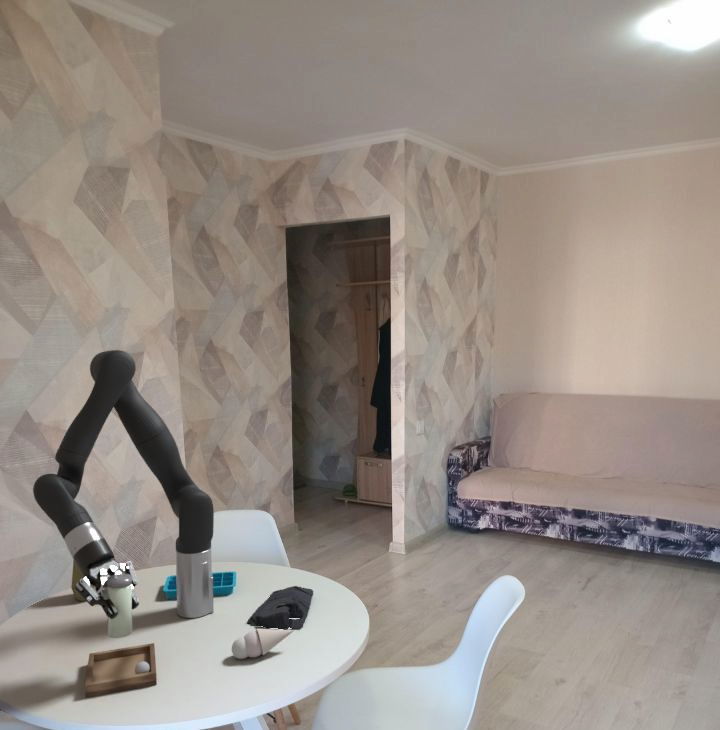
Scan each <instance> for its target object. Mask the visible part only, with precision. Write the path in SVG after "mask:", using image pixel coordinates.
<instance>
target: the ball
mask: <svg viewBox="0 0 720 730" xmlns="http://www.w3.org/2000/svg"><path fill="white" fill-rule="evenodd" d="M149 669H150V667H149V664H148V663H147V662H144V661H143V662H140V663H138V664H137V665H136V667H135V673H136V674H141V673H147V672H149Z"/></svg>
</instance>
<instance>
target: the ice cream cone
mask: <svg viewBox="0 0 720 730" xmlns="http://www.w3.org/2000/svg"><path fill="white" fill-rule="evenodd" d="M293 632H295V629H288V630H287V629H285V630H276V629H266V628H256V630H254V631H253V630H252V631H249V632H247V633H246V634H245V635H244V636H243V637H238V638H236V639H235V640H234V641H233V643H232V645H231V654H232V655H233V657H235V658H236V659H238V660H244V659H247V658H251V659H252V658H257V657H259V656H260V655H263V656H265V655H266V654H267V653H268V652H270V651H271V650H272V649H273V648H275V647H276V646H277V645H278V644H279V643H281V642H282V641H283V640H285V639H286V638H288V637H289V636H290V635H291V634H292V633H293Z"/></svg>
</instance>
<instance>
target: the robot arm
mask: <svg viewBox="0 0 720 730" xmlns="http://www.w3.org/2000/svg"><path fill="white" fill-rule="evenodd" d="M136 369H137V368H136V361H135V359H134V358H133V357H132V356H131V355H130V354H129V353H128V352H126V351H124V350H121V349H120V350H118V349H115V350H114V349H113V350H105V351H101V352H99V353H97V354H95V356H93V357H92V359H91V361H90V364H89V372H90V376H91V378H92V379H93V381H94V384H93V387H92V389H91V391H90V394H89V396H88V397H87V399H86V400H85V401H86V402H85V403H84V405H83V406H82V407H81V409H80V411H79V412H78V413H77V415H76V416H75V418H74V419H73V420H72V421H71V423H70V425H69V427H68V429H67V430H66V431H65V434H64V436H63V438H62V440H61V443H60V445H59V447H58V448H57V451H56V452H55V455H54V458H55V462H57V463H58V470H57V473H45V474H42V475H41V476H39V477H38V478H36V480H35V482H34V484H33V488H32V494H33V497H34V499H35V502H36V503H37V505H38V506H39V508H40V509H41V510H42V511H43V512H44V514H46V515H47V517H48V518H49V519H50V520H51V521H52V522H53V524H55V526H56V528H57V529H58V532H59V534H60V535H61V537H62V539H63V540H64V542H65V546H66V548H67V550H68V552H69V554H70V555H71V557H72V559H73V560H74V561H75V563H76V564H77V566H78V568H79V570H80V572H81V573H82V574H84V579H80V580H79V582H78V583H77V584H76V585H75V589H76V590H77V591H78V592H79V593H80V594H81V596H82V597H83V598H84V599H85V600H86V602H87V603H88V605H89V606H90V607H94V606H97V605H98V606H101V608H102V610H103V612H104V613H105V615H106V617H107V618H108V617H110V619H113V618H115V617H116V616H117V615H118V611H117V610H116V608H115V606H114V604H113V603H112V601H111V600H110V599H109V600H108V598H109V597H108V592H107V578H108V577H110V576H112V575H116V574H130V575H131V576H132V610H135V609H136V608H137V607H138V606H139V605H140V599H139V597H138V595H137V594H136V592H135V591H134V588H135V587H136V586H137V585H138V584H139V580H138V577H137V574H136V571H135V567H134V565H133V563H132V561H131V560H128V561H127V562H126V563H120V562H119V561H118V560H116V559H115V554H114V552H113V551H112V549H111V547H110V545H109V543H108V542H107V539H106V538H105V537H104V535H103V533H102V532H101V529H99V527H98V526H97V525H96V523H95V522H94V520H93V518H92V517H91V515H90V514H89V512H88V511H87V509H86V507H84V506H83V505H82V504H80V503H79V502H76V501H75V499H76V498H77V496H78V495H79V492H80V488H81V487H82V481H83V476H84V473H85V466H86V463H87V461H88V459H89V457H90V456H91V453H92V451H93V448H94V447H95V443H96V442H97V441H98V438H99V435H100V434H101V431H102V429H103V427H104V425H105V423H106V421H107V420H108V417H109V416H110V414H111V412H112V411H113V408H114V410H115V412H116V413H117V415H118V419H120V421H121V424H122V425H123V427H124V428H125V431H126V433H127V434H128V437H129V438H130V440H131V442H132V443H133V445H134V448H135V449H136V451H137V452H138V454H139V456H140V457H141V458H142V460H143V461H144V463H145V464H146V466H147V467H148V468H149V470H150V471H151V473H152V474H153V475H154V477H155V478H156V479H157V481H158V482H159V484H160V485H161V487H162V489H163V491H164V494H165V495H166V498H167V500H168V503H169V505H170V508H171V509H172V511H173V513H174V515H175V517H176V518H178V537H177V538H176V540H175V572H176V573H175V575H176V583H177V599H176V614H177V615H178V616H179V617H182V618H186V619H195V618H196V619H197V618H201V617H204V616H206V615H208V614H211V613H214V596H213V577H212V573H213V572H212V562H213V561H212V540H213V537H214V525H215V524H214V519H215V518H214V517H215V514H214V513H215V512H214V511H215V510H214V504H213V500H212V498H211V497H210V495H209V494H207V493H206V492H205V491H203V490H201V489H200V488H199V487H198V485H196V484H195V482H194V481H193V478H191V476H190V475H189V473H188V471H187V470H186V468H185V466H184V463H183V462H182V458H181V455H180V451H179V448H178V445H177V442H176V440H175V438H174V437H173V435H172V433H171V431H170V429H169V427H168V426H167V424H166V423H165V421H164V420H163V418H162V417H161V416H160V414H159V413H158V412H157V411H156V410H155V409H154V408H153V407H152V406H151V405H150V404H149V403H148V402H147V400H146V399H145V398H144V397H143V396H142V395H141V393H140V392H139V390H138V389H137V387H136V385H135V383H134V381H133V378H134V377H135V374H136ZM90 584H91V585H93V586H94V589H95V591H94V590H93V588H92V587H91V586H90Z"/></svg>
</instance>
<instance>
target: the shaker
mask: <svg viewBox="0 0 720 730" xmlns="http://www.w3.org/2000/svg"><path fill="white" fill-rule="evenodd" d="M107 592H108V597H109V598H108V600H109V599H110V600H111V601H112V603H113V604H114V606H115V608H116V610H117V611H118V615H117V616H116V617H115V618H113V619H110V617H108V616H107V635H108V637H109V638H112V639H120V638H125V637H128V636H130V635H131V634H132V633H133V609H132V576H131V575H130V574H116V575H112V576H110V577H108V578H107Z"/></svg>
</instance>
